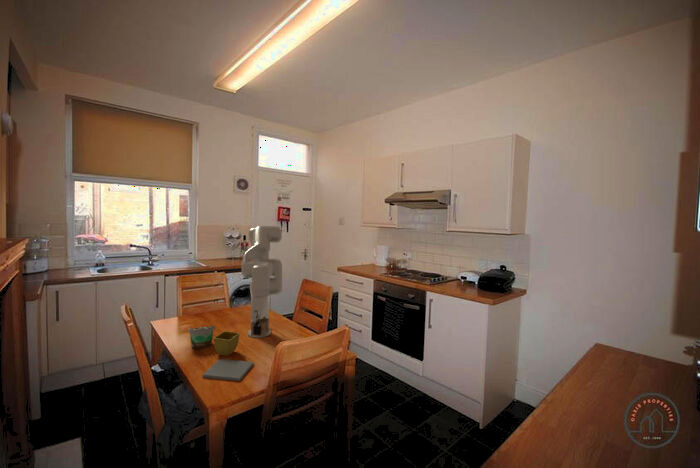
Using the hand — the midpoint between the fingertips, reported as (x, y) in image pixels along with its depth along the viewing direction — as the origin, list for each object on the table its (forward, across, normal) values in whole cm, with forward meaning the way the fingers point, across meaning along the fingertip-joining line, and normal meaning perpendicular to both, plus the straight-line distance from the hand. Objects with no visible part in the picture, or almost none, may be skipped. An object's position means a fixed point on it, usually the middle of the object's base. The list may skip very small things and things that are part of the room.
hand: (259, 331), depth 142 cm
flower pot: (+16, -8, -19) cm, 26 cm away
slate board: (+16, +7, -11) cm, 20 cm away
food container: (+16, -13, -34) cm, 40 cm away
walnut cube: (+1, 0, 0) cm, 1 cm away
